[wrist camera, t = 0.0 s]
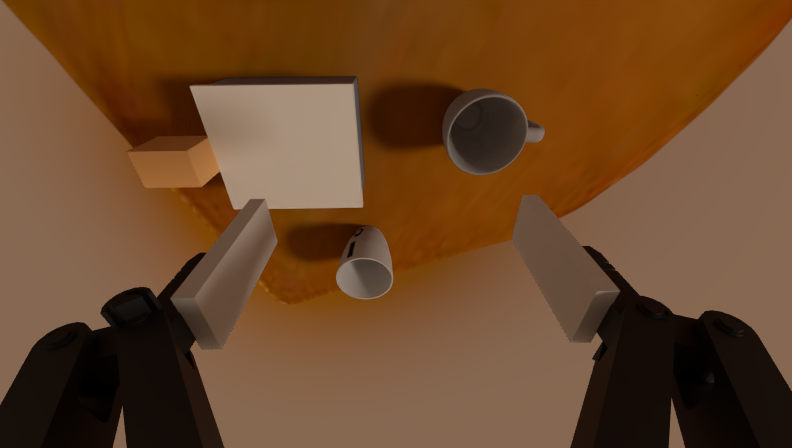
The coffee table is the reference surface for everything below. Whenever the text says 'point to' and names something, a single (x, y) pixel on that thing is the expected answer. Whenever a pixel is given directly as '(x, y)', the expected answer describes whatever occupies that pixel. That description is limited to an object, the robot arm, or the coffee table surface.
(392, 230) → the coffee table surface
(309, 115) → the white paddle
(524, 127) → the mug
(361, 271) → the cup
